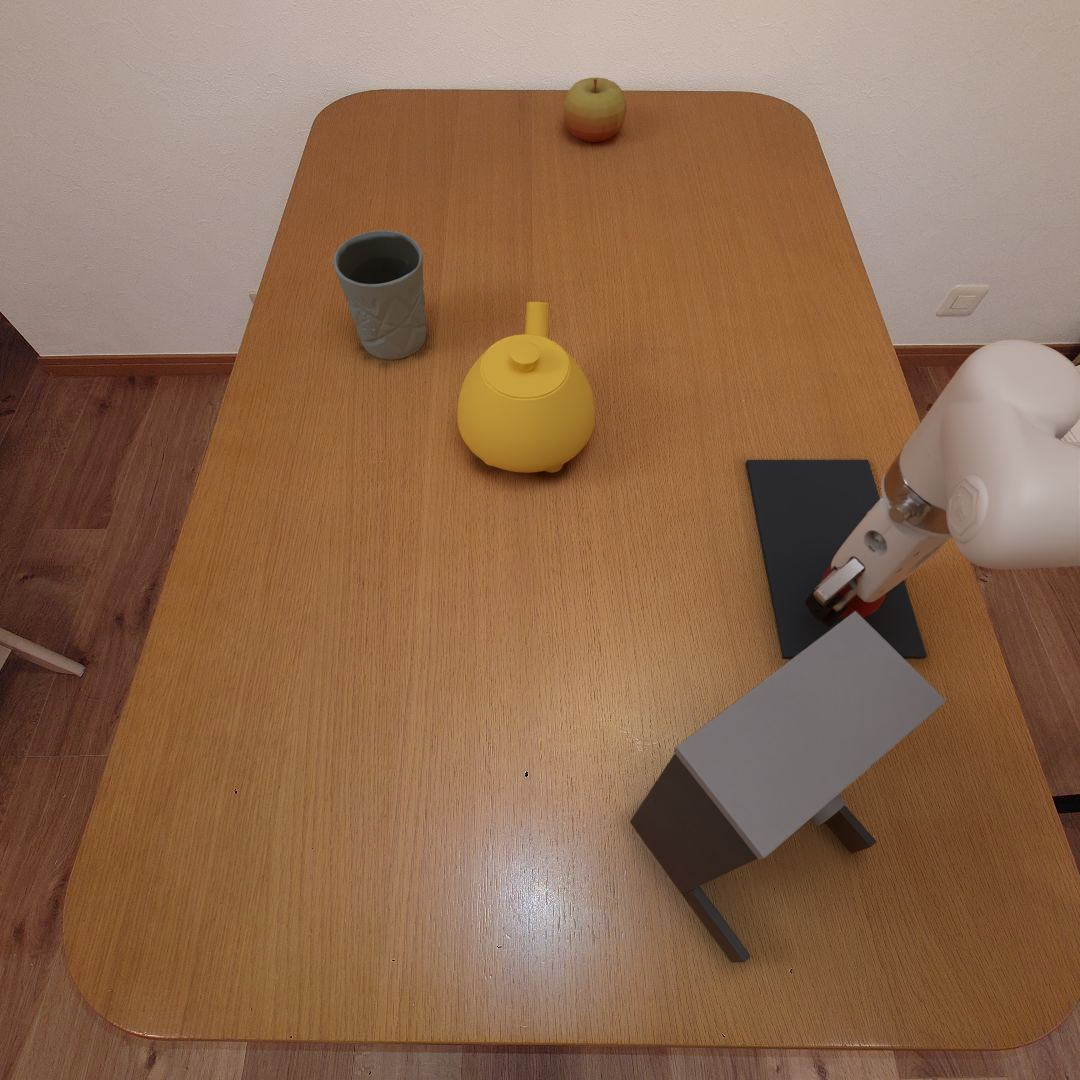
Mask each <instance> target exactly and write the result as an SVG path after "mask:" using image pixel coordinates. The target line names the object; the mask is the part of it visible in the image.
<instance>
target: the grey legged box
mask: <svg viewBox="0 0 1080 1080" xmlns="http://www.w3.org/2000/svg"><path fill="white" fill-rule="evenodd" d="M946 703H947V700H946V699H945V697H943V696H942V694H941V693H939V692H938V690H936V689H935V688H934V687H933V686H932V684H931V683H930V682H928V681H927V680H926V678H924V677H923V676H922V675H921V673H919V672H918V671H917V670H916V669H915V668H914V667H913V666H912V665H911V664H910V663H909V662H908V661H907V659H906V658H903V657H902V656H901V655H900V654H899V653H898V652H897V651H896V650H895V649H894V648H893V647H892V646H891V645H890V644H889V643H888V642H887V641H885V640H884V639H883V638H882V637H881V636H880V635H879V634H878V633H877V632H876V631H875V630H874V629H873V628H872V627H871V626H870V625H869V624H868V623H867V622H866V621H865V620H864V619H863V618H862V617H861V616H860V615H859V614H858V613H857V612H856V611H855V612H853V613H852V614H851V615H849V616H848V617H847V618H845V619H844V620H843V621H841V622H840V623H839V624H837V625H836V626H835V627H833V628H832V629H831V630H829V631H828V632H827V633H826V634H824V635H823V636H822V637H820V638H819V639H818V640H816V641H815V642H814V643H812V644H811V645H810V646H808V647H807V648H806V649H804V650H803V651H802V652H800V653H799V654H798V655H796V656H795V657H794V658H793V659H789V660H788V662H786V663H784V664H783V665H782V666H781V667H779V668H778V669H777V670H775V671H773V673H771V674H770V675H769V676H768V677H766V678H765V679H763V680H762V681H761V682H759V683H758V684H757V685H755V686H754V687H753V688H752V689H751V690H749V691H748V692H746V693H745V694H743V695H742V696H741V697H740V698H738V699H737V700H736V701H734V702H733V703H731V704H730V705H729V706H728V707H727V708H725V709H724V710H723V711H721V712H720V713H718V714H717V715H716V716H715V717H713V718H712V719H711V720H709V721H707V723H706V724H704V725H703V726H701V727H700V728H698V729H697V730H696V731H694V732H693V733H692V734H691V735H690V736H688V737H687V738H686V739H684V740H683V741H682V742H680V743H678V745H676V747H675V748H674V749H673V753H674V754H673V756H672V757H671V759H670V760H669V761H668V763H667V764H666V765H665V767H664V769H663V770H662V771H661V773H660V775H659V777H658V778H657V780H656V781H655V782H654V783H653V785H652V787H651V789H650V790H649V791H648V793H647V794H646V796H645V798H644V799H643V800H642V802H641V804H640V805H639V807H638V809H637V810H636V812H635V813H634V815H633V816H632V817H631V819H630V820H629V824H630V825H631V826H632V827H633V829H634V830H635V832H636V833H637V835H638V836H639V837H640V839H641V840H642V841H643V843H644V844H645V846H646V847H647V848H648V850H649V851H650V853H651V854H652V855H653V856H654V858H655V860H656V861H657V862H658V863H659V865H660V866H661V868H662V869H663V870H664V872H665V873H666V875H667V876H668V878H669V879H670V880H671V882H672V883H673V884H674V886H675V887H676V888H677V890H678V892H679V893H680V894H681V895H682V897H683V898H684V899H685V901H686V902H687V904H688V905H689V907H690V908H691V909H692V911H693V912H694V913H695V915H696V916H697V917H698V919H699V920H700V921H701V923H702V925H703V926H704V927H705V929H706V930H707V931H708V933H709V934H710V936H711V937H712V938H713V940H714V941H715V943H716V944H717V945H718V947H719V948H720V950H721V951H722V952H723V954H724V955H725V957H726V958H727V959H728V960H729V962H730V963H731V964H732V963H733V964H735V963H736V964H737V963H740V964H741V963H743V964H744V963H746V962H747V961H748V960H749V959H750V958H751V954H750V952H749V951H748V950H747V948H746V947H745V946H744V944H743V943H742V941H741V939H739V938H738V936H737V935H736V933H735V932H734V931H733V929H732V928H731V926H730V925H729V923H727V921H726V920H725V919H724V917H723V915H722V914H721V913H720V912H719V910H718V909H717V908H716V906H715V905H714V903H713V902H712V901H711V900H710V898H709V896H708V895H707V893H705V891H704V890H703V889H702V887H701V886H703V885H705V884H707V883H709V882H711V881H713V880H716V879H718V878H720V877H722V876H724V875H727V874H729V873H731V872H732V871H735V870H736V869H739V868H741V867H743V866H745V865H748V864H749V863H751V862H754V861H756V860H759V861H762V860H764V859H766V858H767V857H768V856H769V855H770V854H771V853H773V852H774V851H775V850H776V849H777V848H778V847H779V846H781V845H782V844H783V843H785V841H787V840H788V839H789V838H790V837H792V836H793V835H794V834H795V833H796V832H798V830H800V829H801V828H802V827H803V826H804V825H806V823H807V822H808V821H810V820H811V822H812V823H813V824H814V825H815V826H816V827H819V826H821V825H822V824H824V823H825V824H826V825H827V826H828V828H829V829H830V830H831V831H832V832H833V833H834V834H835V836H836V837H837V838H838V839H839V840H840V842H841V843H842V844H843V845H844V846H845V847H846V849H847V850H848V851H849V852H850V853H851V854H855V853H858V852H861V851H864V850H867V849H870V848H872V847H873V846H874V845H875V844H876V843H877V842H878V841H877V840H876V839H875V837H873V835H872V834H871V833H870V832H869V831H868V830H867V828H866V827H865V826H864V825H863V824H862V823H861V821H859V819H858V818H857V817H856V816H855V815H854V814H853V812H852V811H851V810H850V809H849V808H848V807H847V806H846V801H845V800H844V799H843V797H841V795H840V794H841V793H842V792H843V791H845V790H846V789H847V788H848V787H849V786H850V785H852V784H853V783H854V782H855V781H856V780H857V779H859V778H860V777H861V776H862V775H863V774H864V773H865V772H867V771H868V770H870V768H872V766H874V765H875V764H876V763H877V762H878V761H879V760H881V759H882V758H883V757H884V756H885V755H886V754H888V753H889V752H890V751H891V750H892V749H893V748H895V747H896V746H897V745H898V744H900V742H902V741H903V740H904V739H905V738H906V737H908V735H910V734H911V733H912V732H914V731H915V729H917V728H918V727H919V726H920V725H921V724H922V723H924V722H925V721H926V720H927V719H928V718H930V717H931V716H932V715H933V714H935V712H936V711H938V710H939V709H941V707H942V706H943V705H944V704H946Z"/></svg>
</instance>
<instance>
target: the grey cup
mask: <svg viewBox="0 0 1080 1080" xmlns="http://www.w3.org/2000/svg"><path fill="white" fill-rule="evenodd" d="M422 251H423V250H422V248H421V247H420V245H419V244H418V243H417V241H416V240H415V239H413V238H412V237H411V236H409V235H407V234H405V233H401V232H398V231H395V230H388V229H387V230H386V229H384V230H383V229H382V230H381V229H380V230H372V231H367V232H363V233H360V234H356V235H354V236H352V237H350V238H349V239H347V240H345V241H344V242H343V243H342V244H341V245H340V246H338V248H337V249H336V250H335V253H334V254H333V255H334V256H333V260H332V265H333V268H334V271H335V274H336V277H337V280H338V281H339V284H340V287H341V290H342V292H343V295H344V297H345V299H346V300H347V301H348V302H347V306H348V308H349V311H350V315H351V316H352V320H353V322H354V324H355V328H356V332H357V335H358V337H359V340H360V343H361V345H362V347H363V348H364V350H365V351H366V352H367V353H368V354H369V355H371V356H372V357H375V358H377V359H380V360H387V361H395V360H401V359H405V358H407V357H410V356H412V355H414V354H416V353H417V352H418V351H420V349H422V347H423V346H424V344H425V341H426V339H427V335H428V332H427V330H428V329H427V320H426V314H425V304H426V302H425V294H424V293H425V290H424V282H425V281H424V263H423V261H424V260H423V259H424V257H423V252H422Z"/></svg>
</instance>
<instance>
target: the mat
mask: <svg viewBox="0 0 1080 1080" xmlns="http://www.w3.org/2000/svg"><path fill="white" fill-rule="evenodd" d="M745 467H746V471H747V477H748V482H749V488H750V493H751V498H752V504H753V509H754V515H755V519H756V524H757V525H756V526H757V530H758V536H759V540H760V545H761V550H762V551H761V552H762V557H763V562H764V566H765V567H764V568H765V572H766V578H767V584H768V588H769V593H770V598H771V604H772V609H773V615H774V619H775V624H776V625H775V626H776V629H777V631H776V632H777V636H778V642H779V647H780V651H781V658H782V659H783V660H791V659H793V658H794V657H795V656H796V655H798V654H799V653H800V652H802V651H803V650H804V649H806V648H807V647H808V646H810V645H811V644H812V643H814V642H815V641H816V640H818V639H819V638H820V637H822V636H823V635H824V634H826V633H827V632H828V631H829V630H831V629H832V628H833V627H835V626H836V625H837V624H839V623H840V622H841V621H843V620H844V619H845V618H842V617H840V618H839V619H838V620H837V621H836V622H835V623H834V624H833V625H832V626H831V627H827V626H826V625H825V624H824V623H823V622H822V621H821V620H818V619H816V618H815V617H814V616H813V615H812V613H811V612H810V610H809V608H808V607H807V606H806V604H805V601H806V600H807V599H808V597H809V596H810V594H811V593H812V592H813V590H814V589H815V588H816V586H817V585H818V584H819V583H820V582H821V580H822V576H823V575H824V573H825V572H826V571H827V569H828V568H829V567H830V566H831V562H832V560H833V558H834V556H835V555H836V553H837V552H838V550H839V549H840V547H841V546H842V545H843V543H844V542H845V541H846V540H847V538H848V537H849V536H850V534H851V533H852V532H853V531H854V529H855V528H856V527H857V526H858V524H859V523H860V522H861V521H862V520H863V518H864V517H865V516H866V515H867V513H868V511H870V510H871V509H872V508H873V507H874V505H875V504H876V503H877V502H878V501H879V500H880V498H881V497H880V495H879V491H878V487H877V483H876V481H875V477H874V475H873V471H872V467H871V464H870V460H869V459H746V461H745ZM908 592H909V591H908V588H907V584H906V581H905V579H904V580H903V581H902V582H900V583H899V584H898V585H896V586H895V587H894V588H892V589H891V590H890V591H888V592H887V593H886V594H885V598H884V600H883V602H882V603H881V605H880V607H879V608H878V609H877V610H876V611H875V612H873V613H872V614H870V615H868V616H867V617H865V618H863V619H864V620H865V621H866V622H867V623H868V624H869V625H870V626H871V627H872V628H873V629H874V630H875V631H876V632H877V633H878V634H879V635H880V636H881V637H882V638H883V639H884V640H885V641H887V642H888V643H889V644H890V645H891V646H892V647H893V648H894V649H895V650H896V651H897V652H898V653H899V654H900V655H901V656H902V657H903V658H904V659H925V658H927V653H926V649H925V646H924V642H923V638H922V634H921V632H920V628H919V625H918V622H917V618H916V615H915V612H914V608H913V605H912V602H911V599H910V595H909V593H908Z"/></svg>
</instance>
